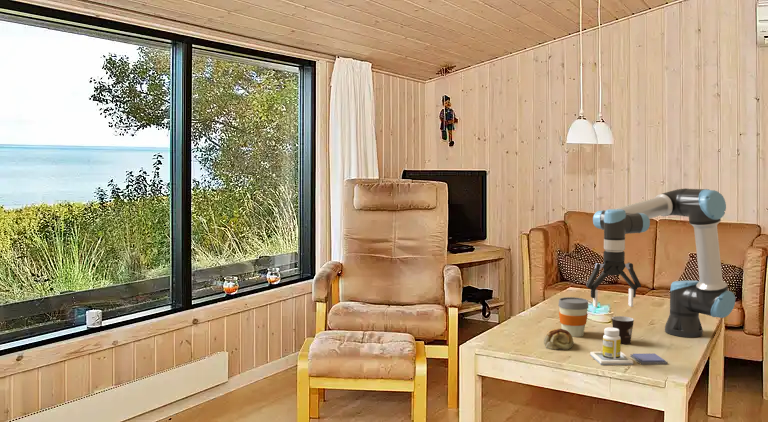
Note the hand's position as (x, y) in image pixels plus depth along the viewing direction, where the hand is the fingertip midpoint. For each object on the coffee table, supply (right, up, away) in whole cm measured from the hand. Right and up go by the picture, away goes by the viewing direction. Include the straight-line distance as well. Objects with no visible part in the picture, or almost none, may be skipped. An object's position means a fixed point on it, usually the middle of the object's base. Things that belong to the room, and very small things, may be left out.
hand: (612, 306), depth 251 cm
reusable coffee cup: (-4, -18, +38) cm, 43 cm away
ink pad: (+14, -21, +1) cm, 25 cm away
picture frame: (0, -21, +2) cm, 21 cm away
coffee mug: (+14, -19, +26) cm, 35 cm away
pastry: (-15, -20, +20) cm, 32 cm away
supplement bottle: (0, -20, +2) cm, 20 cm away
